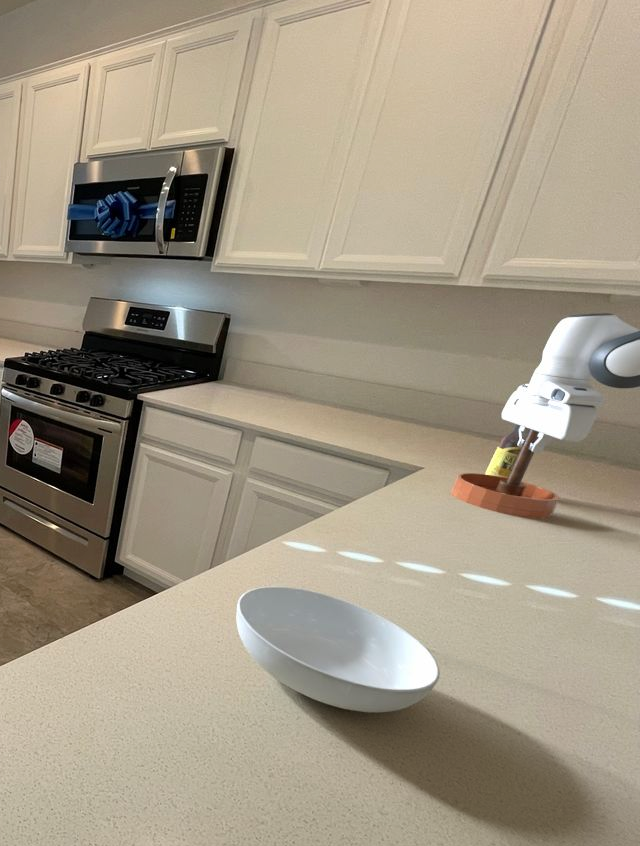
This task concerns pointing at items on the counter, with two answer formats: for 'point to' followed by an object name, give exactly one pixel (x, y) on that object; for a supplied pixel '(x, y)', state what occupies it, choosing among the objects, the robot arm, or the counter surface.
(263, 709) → the counter surface
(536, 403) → the robot arm
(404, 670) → the serving bowl
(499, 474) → the sauce bottle
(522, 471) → the brown rod with base
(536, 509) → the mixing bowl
